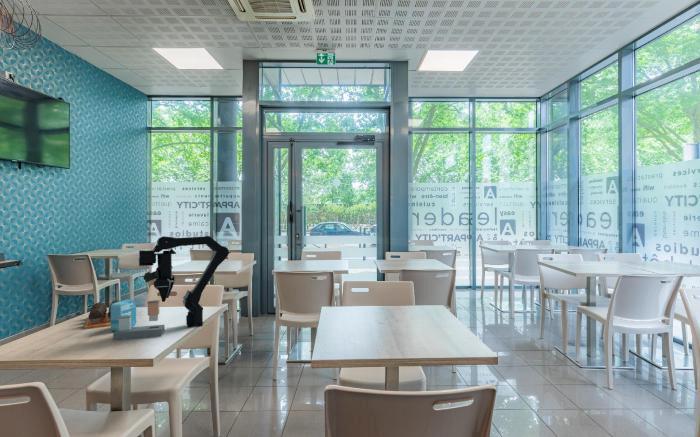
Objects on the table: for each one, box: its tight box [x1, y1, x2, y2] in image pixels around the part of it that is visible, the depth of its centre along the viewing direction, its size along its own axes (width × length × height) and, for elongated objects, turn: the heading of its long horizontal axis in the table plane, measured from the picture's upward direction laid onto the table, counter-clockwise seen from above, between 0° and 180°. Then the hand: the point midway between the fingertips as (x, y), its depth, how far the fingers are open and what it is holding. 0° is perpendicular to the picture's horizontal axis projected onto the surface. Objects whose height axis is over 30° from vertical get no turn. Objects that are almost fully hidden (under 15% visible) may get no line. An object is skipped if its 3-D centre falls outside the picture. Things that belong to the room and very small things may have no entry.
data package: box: [110, 299, 137, 332], centre depth 191 cm, size 12×4×12 cm, turn 175°
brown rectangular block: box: [146, 299, 160, 322], centre depth 179 cm, size 4×3×8 cm
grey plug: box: [118, 315, 131, 331], centre depth 176 cm, size 4×3×8 cm
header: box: [112, 324, 165, 341], centre depth 177 cm, size 18×8×3 cm, turn 105°
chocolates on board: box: [83, 300, 121, 330], centre depth 207 cm, size 28×17×8 cm, turn 28°
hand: (165, 299), depth 187 cm, fingers open, 9 cm apart
